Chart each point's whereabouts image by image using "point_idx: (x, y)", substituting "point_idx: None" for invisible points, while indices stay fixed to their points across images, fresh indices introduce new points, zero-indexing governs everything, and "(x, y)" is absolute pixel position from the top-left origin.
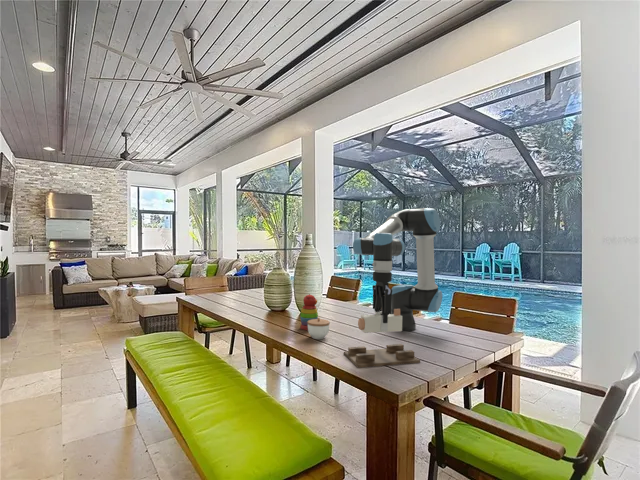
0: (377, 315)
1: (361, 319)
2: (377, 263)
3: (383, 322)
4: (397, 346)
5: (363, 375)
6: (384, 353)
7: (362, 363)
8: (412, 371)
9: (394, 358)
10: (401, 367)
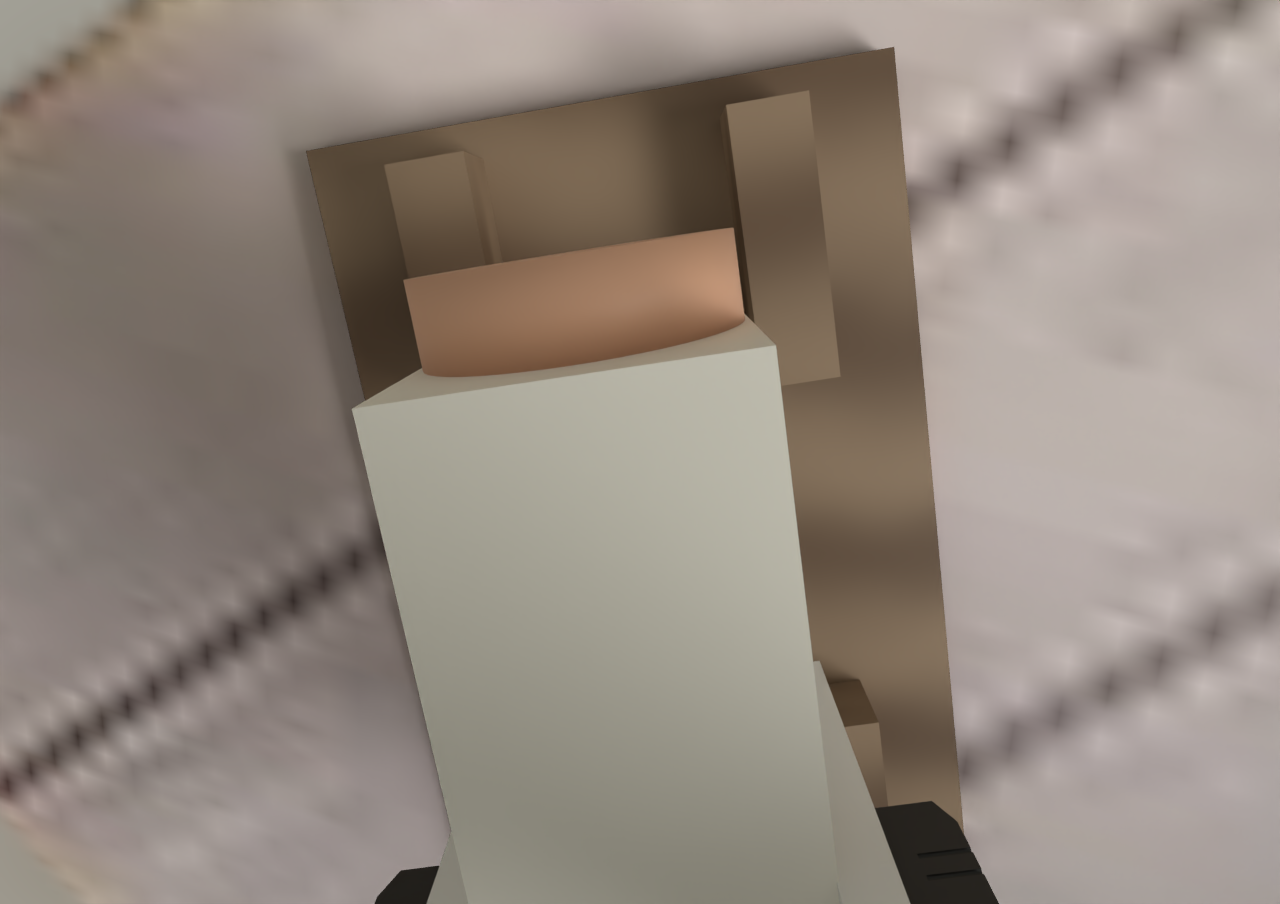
0: (711, 894)
1: (474, 287)
2: None
3: (431, 875)
4: None
5: (71, 171)
6: None
7: (368, 230)
8: (234, 754)
9: None
10: (349, 683)
